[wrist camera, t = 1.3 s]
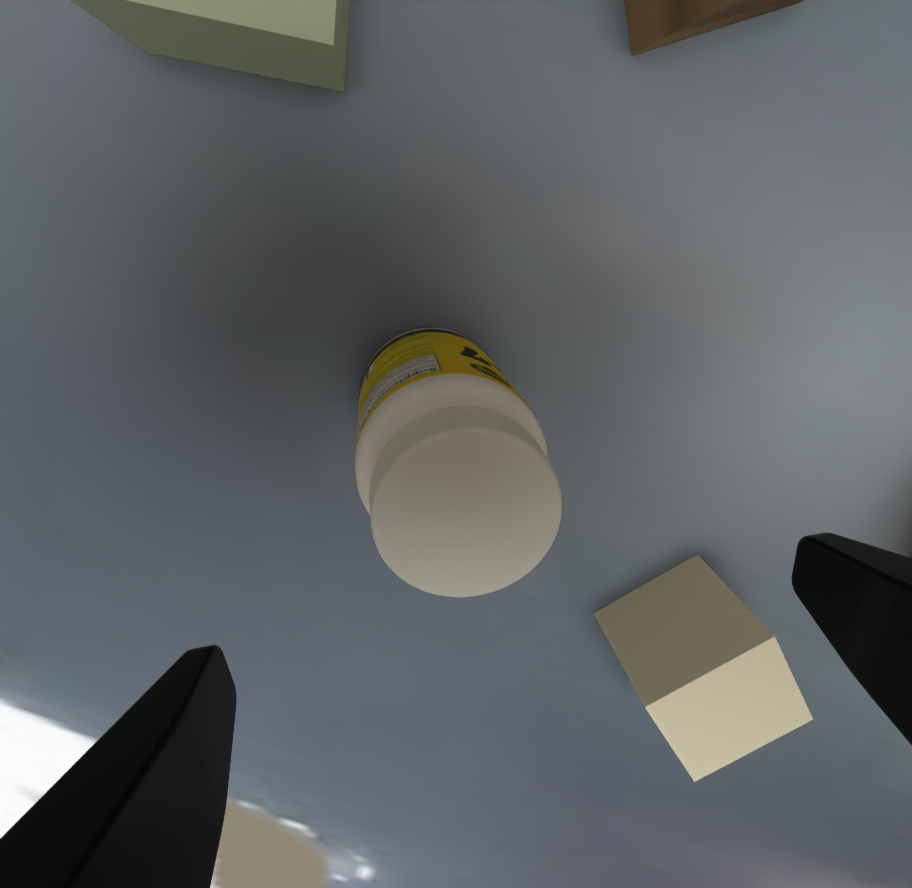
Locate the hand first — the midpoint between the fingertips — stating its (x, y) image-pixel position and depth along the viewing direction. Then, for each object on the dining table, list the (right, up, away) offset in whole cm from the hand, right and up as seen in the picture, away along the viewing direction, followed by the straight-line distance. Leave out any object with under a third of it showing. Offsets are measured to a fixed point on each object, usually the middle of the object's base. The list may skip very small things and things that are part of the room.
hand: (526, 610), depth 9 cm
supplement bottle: (-2, +4, +11) cm, 12 cm away
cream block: (+8, -5, +16) cm, 19 cm away
